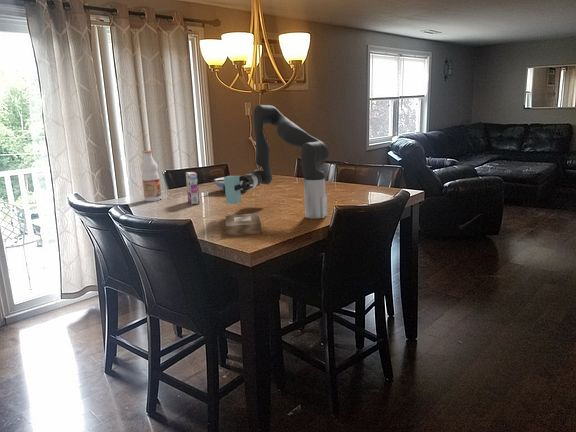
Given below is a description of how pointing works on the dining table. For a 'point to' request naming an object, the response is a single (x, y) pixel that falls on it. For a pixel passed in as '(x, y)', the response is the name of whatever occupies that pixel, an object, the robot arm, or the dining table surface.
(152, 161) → the fruit juice
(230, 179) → the column
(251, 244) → the dining table surface
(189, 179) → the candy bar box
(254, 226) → the plinth
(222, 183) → the ramen bowl
